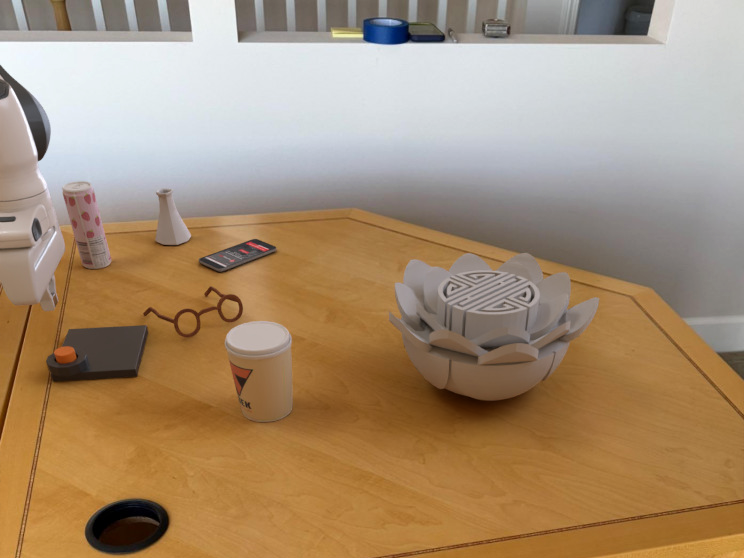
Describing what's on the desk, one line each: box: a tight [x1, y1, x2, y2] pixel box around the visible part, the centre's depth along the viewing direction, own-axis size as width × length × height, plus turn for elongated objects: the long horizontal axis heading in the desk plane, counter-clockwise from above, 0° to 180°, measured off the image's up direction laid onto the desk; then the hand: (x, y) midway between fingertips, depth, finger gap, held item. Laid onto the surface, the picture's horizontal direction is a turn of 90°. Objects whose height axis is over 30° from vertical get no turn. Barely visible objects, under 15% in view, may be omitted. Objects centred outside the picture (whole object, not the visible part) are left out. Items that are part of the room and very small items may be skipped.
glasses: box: [142, 286, 244, 339], centre depth 136 cm, size 13×13×5 cm
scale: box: [45, 324, 149, 383], centre depth 126 cm, size 14×16×3 cm
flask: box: [154, 187, 192, 246], centre depth 161 cm, size 7×7×10 cm
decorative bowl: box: [388, 252, 600, 402], centre depth 118 cm, size 30×30×15 cm
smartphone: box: [198, 238, 277, 273], centre depth 157 cm, size 7×1×15 cm
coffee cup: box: [224, 320, 294, 423], centre depth 112 cm, size 9×9×12 cm
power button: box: [53, 346, 77, 364], centre depth 121 cm, size 3×3×2 cm
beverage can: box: [61, 180, 112, 270], centre depth 150 cm, size 6×6×15 cm
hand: (51, 306), depth 115 cm, fingers closed
